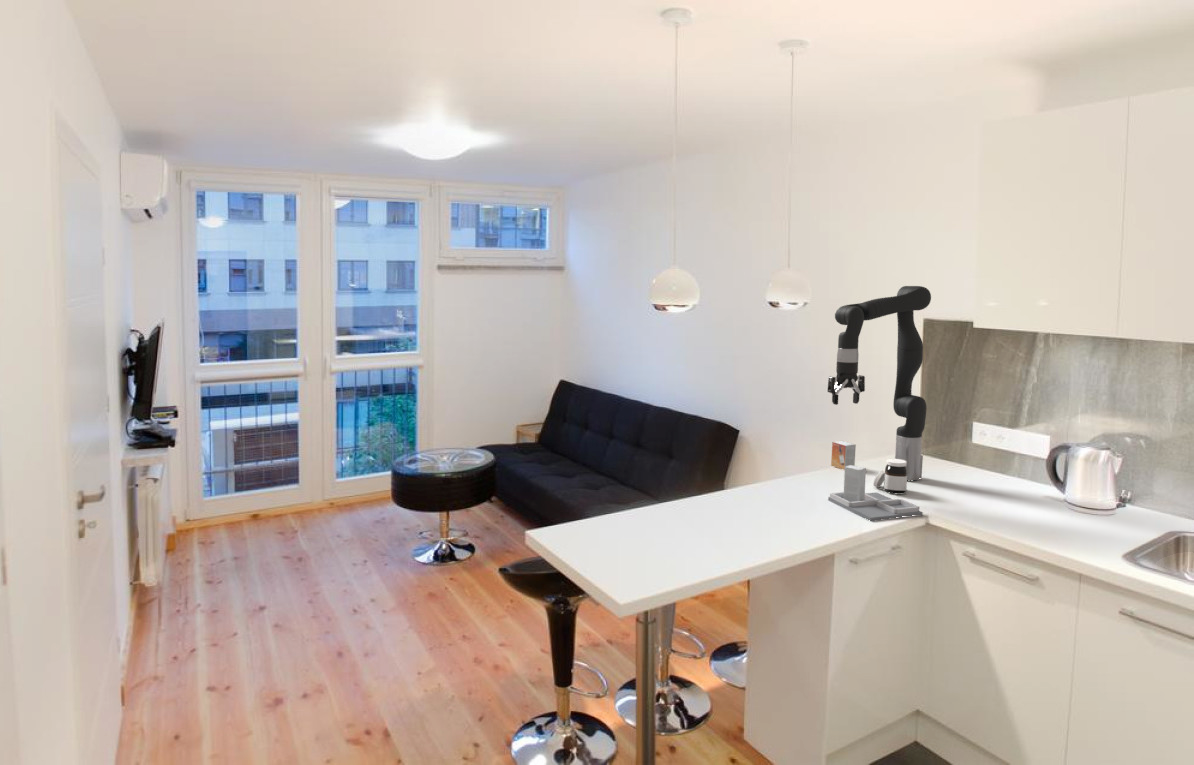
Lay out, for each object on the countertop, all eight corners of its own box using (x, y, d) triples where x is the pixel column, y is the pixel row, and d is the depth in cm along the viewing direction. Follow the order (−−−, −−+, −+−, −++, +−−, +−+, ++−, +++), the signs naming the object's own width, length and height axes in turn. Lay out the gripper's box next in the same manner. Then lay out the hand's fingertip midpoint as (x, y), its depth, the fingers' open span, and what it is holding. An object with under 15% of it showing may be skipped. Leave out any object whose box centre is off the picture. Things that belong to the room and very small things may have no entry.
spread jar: (907, 496, 267) (909, 464, 266) (874, 493, 271) (875, 462, 269) (904, 487, 279) (906, 457, 277) (872, 484, 282) (874, 455, 280)
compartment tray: (876, 495, 268) (876, 488, 268) (922, 515, 245) (922, 507, 245) (828, 500, 263) (828, 492, 262) (870, 521, 240) (870, 513, 239)
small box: (830, 466, 310) (831, 441, 309) (841, 464, 313) (842, 440, 311) (844, 470, 303) (845, 445, 302) (854, 469, 305) (856, 444, 304)
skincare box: (864, 501, 257) (866, 467, 256) (859, 503, 254) (860, 470, 253) (848, 497, 262) (850, 464, 260) (842, 500, 259) (844, 466, 257)
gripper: (836, 362, 266) (834, 406, 268) (870, 360, 270) (868, 404, 272) (824, 360, 273) (823, 403, 275) (858, 358, 277) (856, 401, 279)
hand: (845, 403), depth 274 cm, fingers open, 8 cm apart
